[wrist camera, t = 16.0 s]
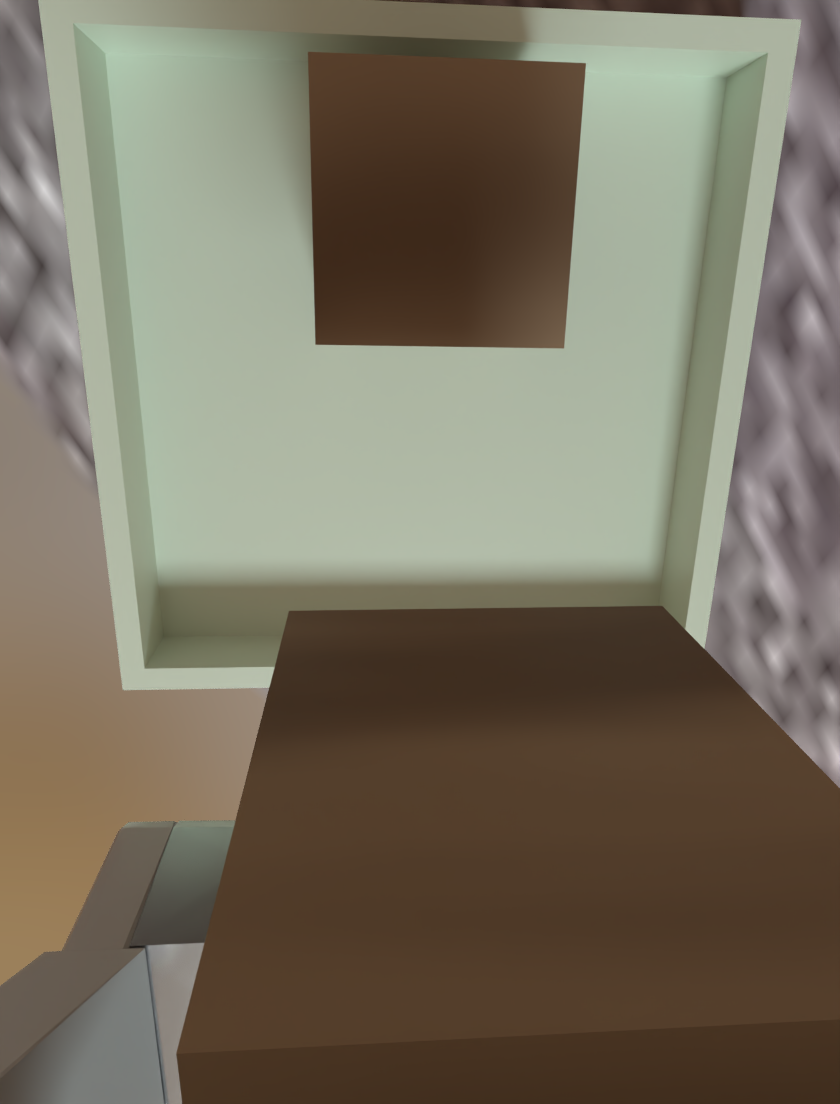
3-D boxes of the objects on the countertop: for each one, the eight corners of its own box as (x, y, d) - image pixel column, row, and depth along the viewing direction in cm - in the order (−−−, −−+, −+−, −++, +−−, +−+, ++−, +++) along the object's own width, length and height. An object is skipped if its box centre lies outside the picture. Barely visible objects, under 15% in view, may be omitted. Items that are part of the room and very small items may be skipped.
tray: (83, 28, 17) (36, -16, 14) (743, 56, 18) (801, 19, 15) (149, 646, 22) (122, 690, 19) (665, 640, 23) (699, 680, 20)
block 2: (289, 610, 9) (177, 1052, 4) (662, 606, 9) (1052, 1006, 4) (303, 915, 10) (235, 1548, 5) (625, 902, 11) (876, 1485, 5)
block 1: (326, 125, 17) (307, 51, 12) (521, 132, 17) (585, 63, 12) (330, 331, 19) (315, 344, 13) (510, 334, 19) (564, 348, 14)
